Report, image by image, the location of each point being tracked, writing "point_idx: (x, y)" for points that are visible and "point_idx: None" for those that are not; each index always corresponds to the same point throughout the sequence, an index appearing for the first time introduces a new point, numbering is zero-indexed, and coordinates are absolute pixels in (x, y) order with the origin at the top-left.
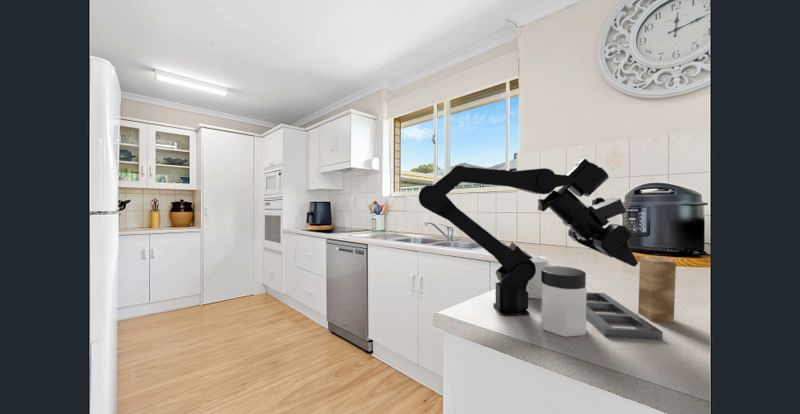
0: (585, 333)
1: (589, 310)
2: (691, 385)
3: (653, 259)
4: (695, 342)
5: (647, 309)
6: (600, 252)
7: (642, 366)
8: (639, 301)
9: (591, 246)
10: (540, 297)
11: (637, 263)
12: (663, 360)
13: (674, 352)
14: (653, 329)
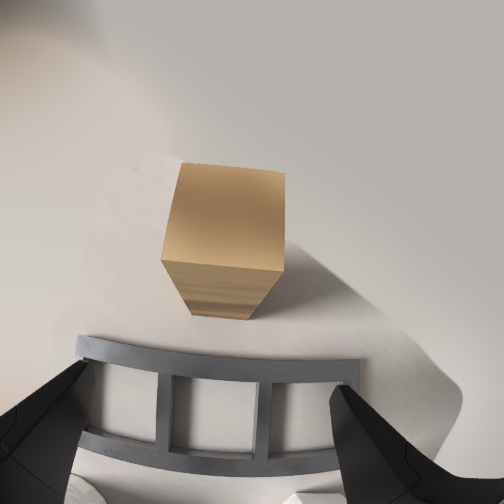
0: (341, 494)
1: (234, 465)
2: (458, 390)
3: (228, 230)
4: (353, 301)
5: (234, 315)
6: (78, 442)
7: (429, 432)
8: (192, 309)
9: (60, 492)
10: (105, 501)
11: (346, 387)
12: (417, 397)
13: (394, 366)
14: (349, 372)
